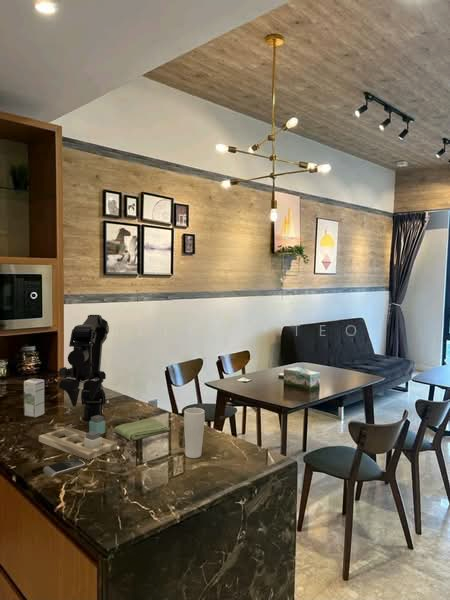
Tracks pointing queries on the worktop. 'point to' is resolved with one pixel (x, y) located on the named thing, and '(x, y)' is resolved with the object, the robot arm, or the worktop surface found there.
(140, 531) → the worktop surface
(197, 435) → the drinking glass
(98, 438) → the off-white plug
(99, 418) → the teal plug
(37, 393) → the syrup box
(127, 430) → the washcloth
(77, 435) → the wooden grid tray
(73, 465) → the cell phone
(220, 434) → the worktop surface
